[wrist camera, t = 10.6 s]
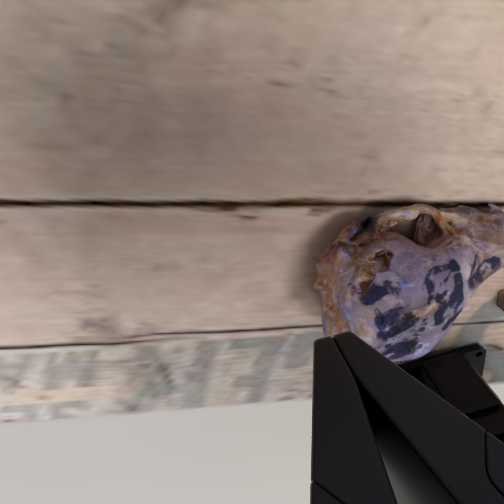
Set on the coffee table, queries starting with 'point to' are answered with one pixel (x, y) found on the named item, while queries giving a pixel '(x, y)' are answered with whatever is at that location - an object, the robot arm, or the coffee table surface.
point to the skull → (407, 275)
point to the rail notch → (501, 299)
